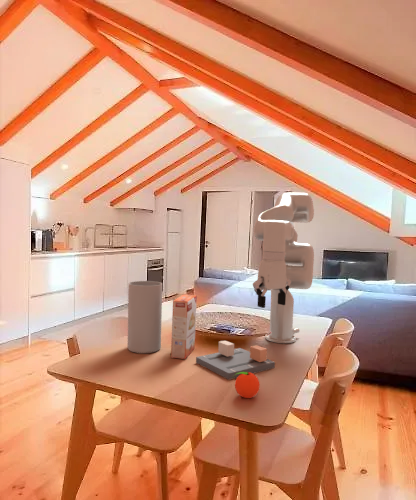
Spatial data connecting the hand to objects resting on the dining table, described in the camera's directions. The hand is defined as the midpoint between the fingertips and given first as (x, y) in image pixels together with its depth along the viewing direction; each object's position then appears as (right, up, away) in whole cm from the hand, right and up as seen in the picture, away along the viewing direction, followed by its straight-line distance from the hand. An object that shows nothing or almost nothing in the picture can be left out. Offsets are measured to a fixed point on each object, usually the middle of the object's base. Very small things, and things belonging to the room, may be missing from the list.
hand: (271, 305), depth 142 cm
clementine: (-12, -22, -27) cm, 37 cm away
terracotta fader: (-5, -18, -2) cm, 19 cm away
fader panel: (-13, -20, -2) cm, 24 cm away
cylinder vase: (-46, -18, +13) cm, 52 cm away
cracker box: (-31, -19, +10) cm, 38 cm away
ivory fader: (-16, -17, +2) cm, 23 cm away
